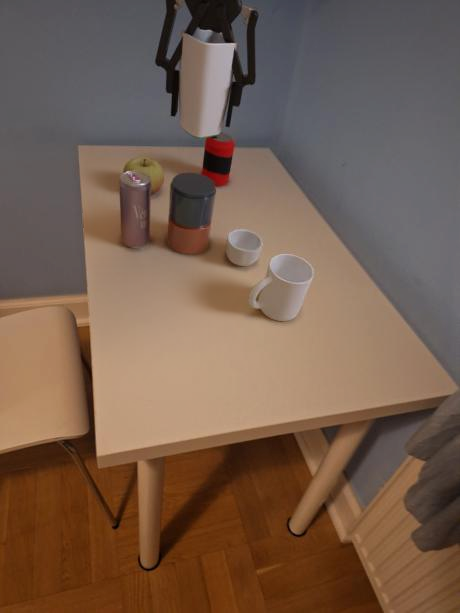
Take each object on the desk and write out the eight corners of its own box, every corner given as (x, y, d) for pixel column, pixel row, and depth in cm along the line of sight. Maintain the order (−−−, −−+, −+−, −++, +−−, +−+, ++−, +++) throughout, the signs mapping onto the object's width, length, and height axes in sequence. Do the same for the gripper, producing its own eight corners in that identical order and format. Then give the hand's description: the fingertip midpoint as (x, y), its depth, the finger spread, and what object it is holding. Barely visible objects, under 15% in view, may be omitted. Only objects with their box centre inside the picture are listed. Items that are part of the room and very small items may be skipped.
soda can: (197, 173, 113) (201, 130, 104) (221, 171, 116) (228, 130, 107) (207, 187, 108) (213, 144, 100) (232, 185, 111) (240, 143, 103)
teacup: (261, 271, 87) (266, 251, 84) (226, 271, 86) (230, 251, 82) (251, 243, 94) (256, 223, 90) (219, 242, 92) (223, 222, 89)
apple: (156, 178, 107) (157, 149, 102) (168, 198, 102) (170, 168, 96) (119, 181, 104) (118, 151, 98) (129, 202, 98) (128, 171, 92)
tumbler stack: (163, 250, 87) (166, 190, 77) (171, 226, 94) (174, 168, 84) (205, 257, 88) (214, 199, 78) (210, 233, 94) (218, 176, 84)
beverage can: (142, 230, 91) (142, 168, 80) (154, 245, 88) (156, 182, 77) (116, 236, 88) (113, 172, 77) (128, 252, 85) (127, 188, 74)
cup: (171, 126, 72) (176, 29, 62) (203, 121, 76) (214, 29, 66) (195, 144, 69) (205, 44, 59) (227, 138, 73) (242, 43, 62)
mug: (254, 332, 75) (266, 292, 68) (234, 301, 80) (243, 261, 72) (306, 316, 80) (322, 278, 73) (284, 289, 85) (297, 250, 77)
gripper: (132, -67, 52) (134, 114, 68) (297, -30, 53) (260, 139, 69) (146, -69, 57) (144, 99, 73) (295, -36, 58) (261, 122, 74)
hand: (201, 118), depth 71 cm, fingers closed on cup, 9 cm apart
